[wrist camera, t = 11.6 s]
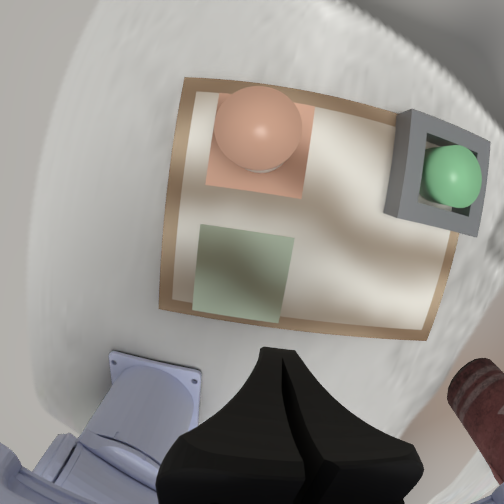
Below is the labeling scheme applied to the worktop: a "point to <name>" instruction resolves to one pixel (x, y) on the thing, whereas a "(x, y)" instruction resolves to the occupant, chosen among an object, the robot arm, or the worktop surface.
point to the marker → (258, 128)
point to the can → (481, 409)
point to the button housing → (411, 166)
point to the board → (298, 226)
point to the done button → (450, 176)
